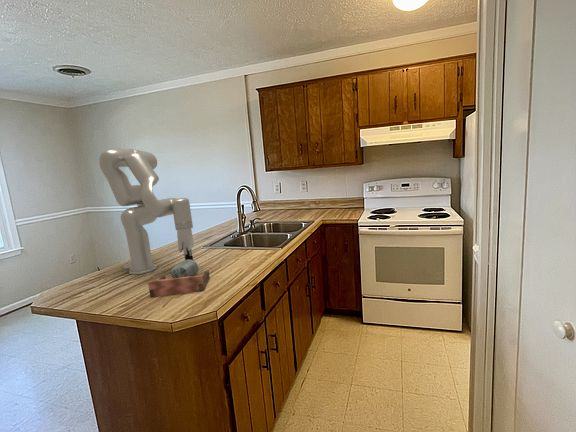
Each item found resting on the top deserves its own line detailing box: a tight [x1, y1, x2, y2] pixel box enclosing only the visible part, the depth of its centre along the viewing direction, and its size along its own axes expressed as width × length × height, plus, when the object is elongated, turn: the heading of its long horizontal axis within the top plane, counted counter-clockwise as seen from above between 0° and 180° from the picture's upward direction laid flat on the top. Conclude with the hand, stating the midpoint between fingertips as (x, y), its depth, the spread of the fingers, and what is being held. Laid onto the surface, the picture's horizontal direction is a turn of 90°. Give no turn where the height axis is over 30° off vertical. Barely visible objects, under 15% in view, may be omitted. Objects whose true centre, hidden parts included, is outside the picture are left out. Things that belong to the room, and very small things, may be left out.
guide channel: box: [147, 270, 211, 298], centre depth 129 cm, size 20×15×6 cm
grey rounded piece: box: [170, 259, 199, 278], centre depth 137 cm, size 14×10×10 cm
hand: (189, 264), depth 145 cm, fingers closed
